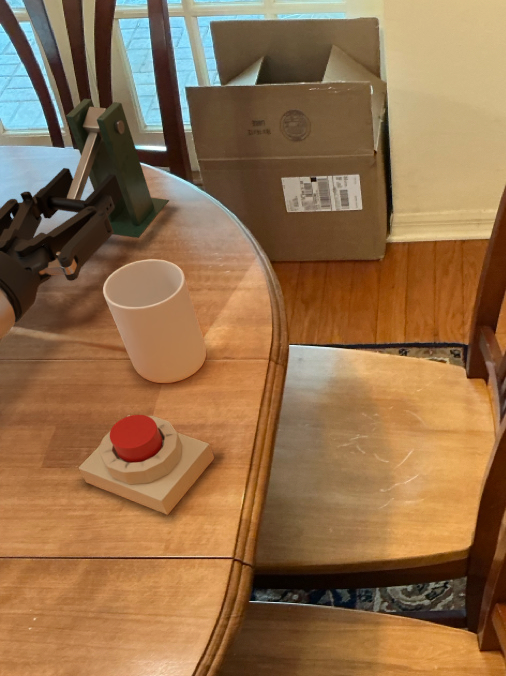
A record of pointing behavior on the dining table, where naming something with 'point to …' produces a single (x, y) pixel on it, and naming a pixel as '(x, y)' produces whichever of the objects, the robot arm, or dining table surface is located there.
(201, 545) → the dining table surface
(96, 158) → the lock bracket
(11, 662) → the dining table surface
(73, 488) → the dining table surface
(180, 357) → the cup
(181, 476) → the confirm box
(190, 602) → the dining table surface
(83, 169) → the bolt lever
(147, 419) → the button
